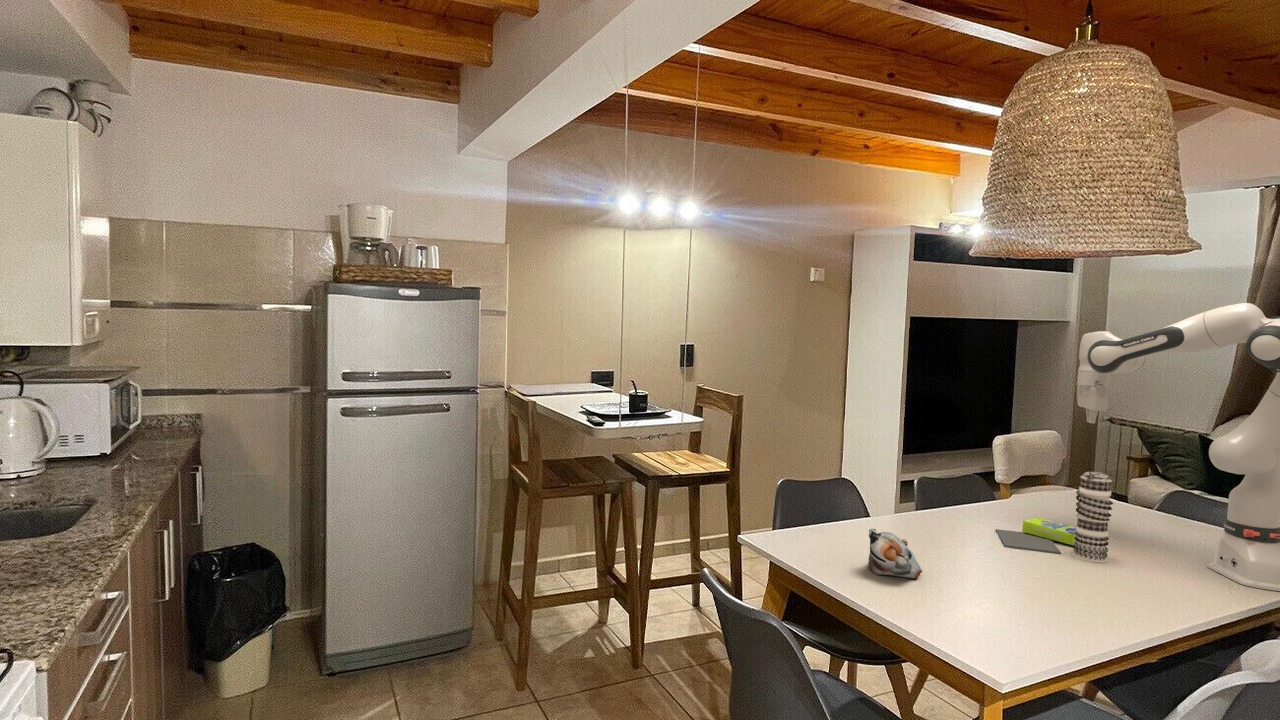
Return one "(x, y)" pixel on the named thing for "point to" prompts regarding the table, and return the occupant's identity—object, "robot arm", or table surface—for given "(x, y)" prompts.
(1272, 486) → the robot arm
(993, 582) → the table surface
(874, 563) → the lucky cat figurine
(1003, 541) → the mat
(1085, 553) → the decorative candle
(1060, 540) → the box
